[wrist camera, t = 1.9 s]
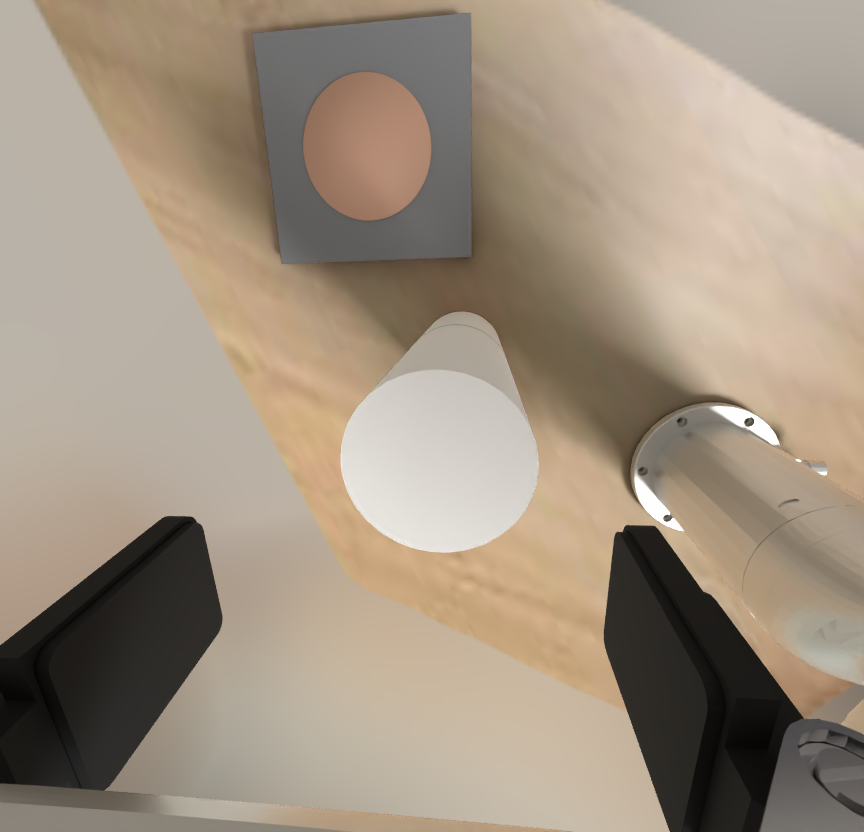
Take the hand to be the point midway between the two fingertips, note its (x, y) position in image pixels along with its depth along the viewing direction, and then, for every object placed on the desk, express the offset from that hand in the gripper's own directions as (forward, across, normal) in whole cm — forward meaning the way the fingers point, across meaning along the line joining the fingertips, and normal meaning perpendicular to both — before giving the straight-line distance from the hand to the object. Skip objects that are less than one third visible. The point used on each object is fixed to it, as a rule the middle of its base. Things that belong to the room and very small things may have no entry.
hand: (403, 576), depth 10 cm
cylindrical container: (+31, 0, 0) cm, 31 cm away
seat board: (+31, +6, -16) cm, 36 cm away
